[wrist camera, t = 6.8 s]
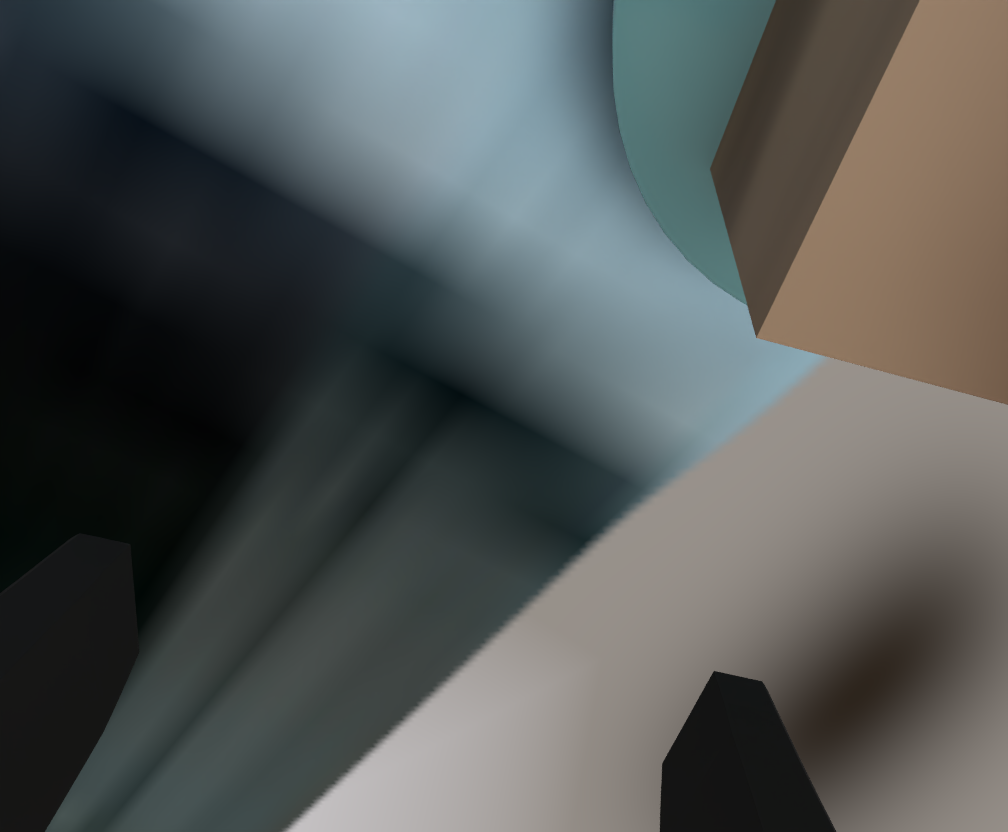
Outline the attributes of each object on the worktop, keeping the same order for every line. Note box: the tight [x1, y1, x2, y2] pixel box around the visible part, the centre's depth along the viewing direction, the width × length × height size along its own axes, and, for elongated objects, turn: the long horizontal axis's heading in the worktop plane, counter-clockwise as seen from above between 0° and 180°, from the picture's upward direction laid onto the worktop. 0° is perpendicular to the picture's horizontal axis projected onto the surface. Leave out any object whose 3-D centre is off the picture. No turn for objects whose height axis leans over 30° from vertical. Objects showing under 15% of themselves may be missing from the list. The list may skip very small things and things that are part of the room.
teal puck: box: [612, 0, 776, 305], centre depth 13 cm, size 9×9×4 cm
